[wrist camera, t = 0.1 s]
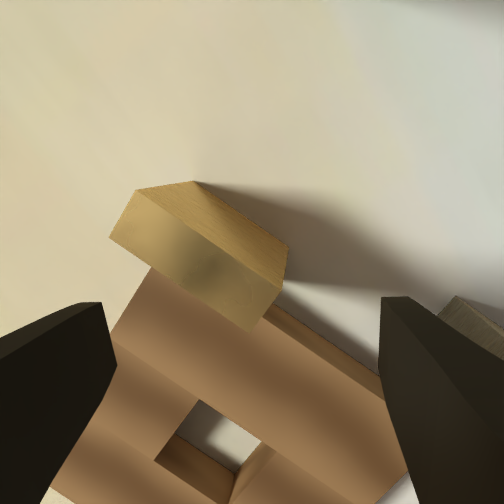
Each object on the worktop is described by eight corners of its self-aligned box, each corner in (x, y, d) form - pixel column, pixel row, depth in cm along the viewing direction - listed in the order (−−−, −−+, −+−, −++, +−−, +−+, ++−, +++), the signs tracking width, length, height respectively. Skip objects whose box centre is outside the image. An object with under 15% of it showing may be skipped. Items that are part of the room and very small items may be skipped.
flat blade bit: (267, 277, 20) (249, 333, 14) (173, 212, 20) (108, 237, 14) (289, 247, 20) (281, 290, 13) (193, 180, 20) (135, 189, 13)
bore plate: (258, 578, 25) (254, 622, 23) (52, 440, 25) (25, 470, 22) (424, 407, 21) (439, 439, 18) (179, 239, 21) (162, 249, 18)
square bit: (464, 386, 20) (544, 497, 14) (408, 348, 20) (461, 440, 14) (513, 336, 19) (625, 428, 13) (455, 295, 19) (537, 366, 13)
